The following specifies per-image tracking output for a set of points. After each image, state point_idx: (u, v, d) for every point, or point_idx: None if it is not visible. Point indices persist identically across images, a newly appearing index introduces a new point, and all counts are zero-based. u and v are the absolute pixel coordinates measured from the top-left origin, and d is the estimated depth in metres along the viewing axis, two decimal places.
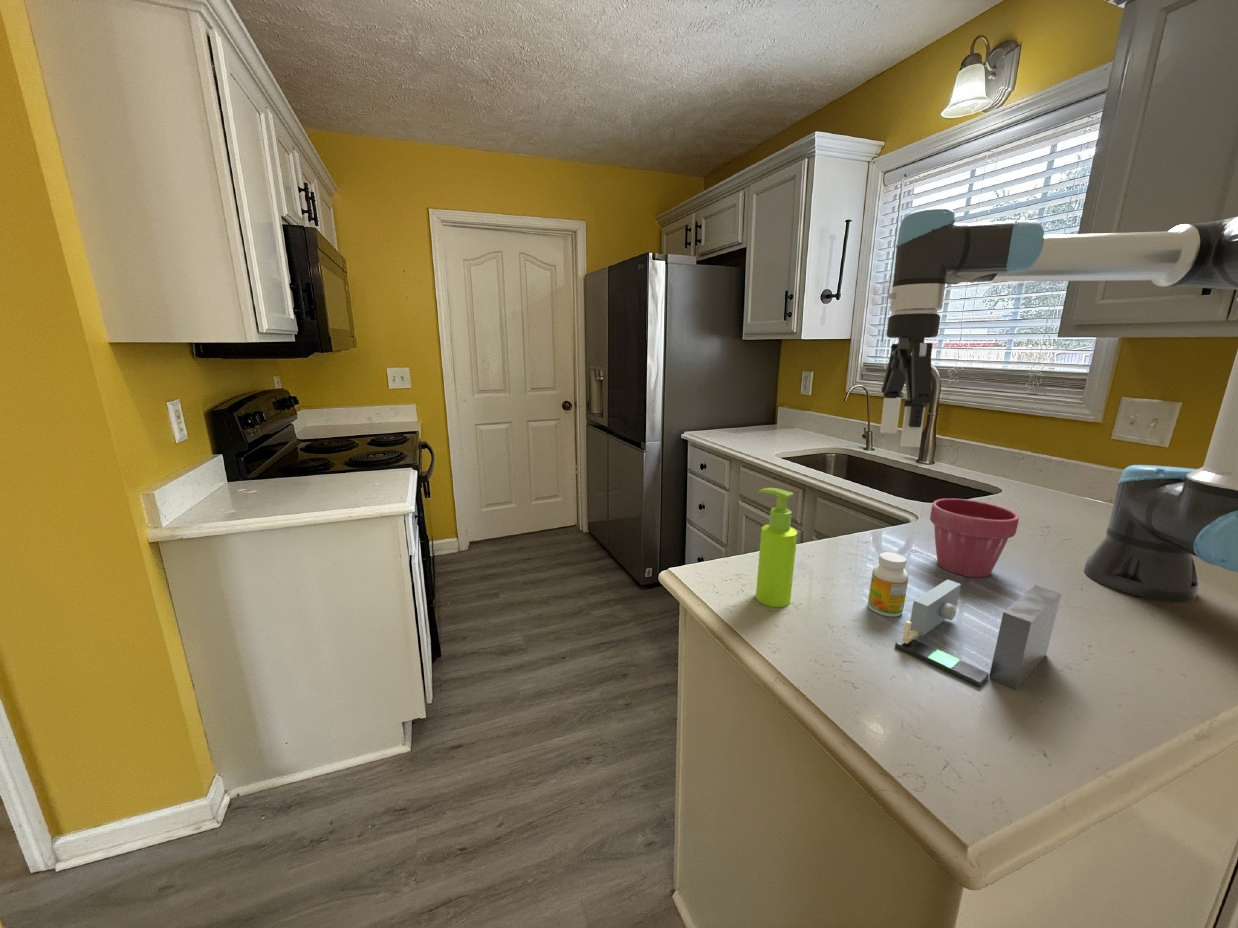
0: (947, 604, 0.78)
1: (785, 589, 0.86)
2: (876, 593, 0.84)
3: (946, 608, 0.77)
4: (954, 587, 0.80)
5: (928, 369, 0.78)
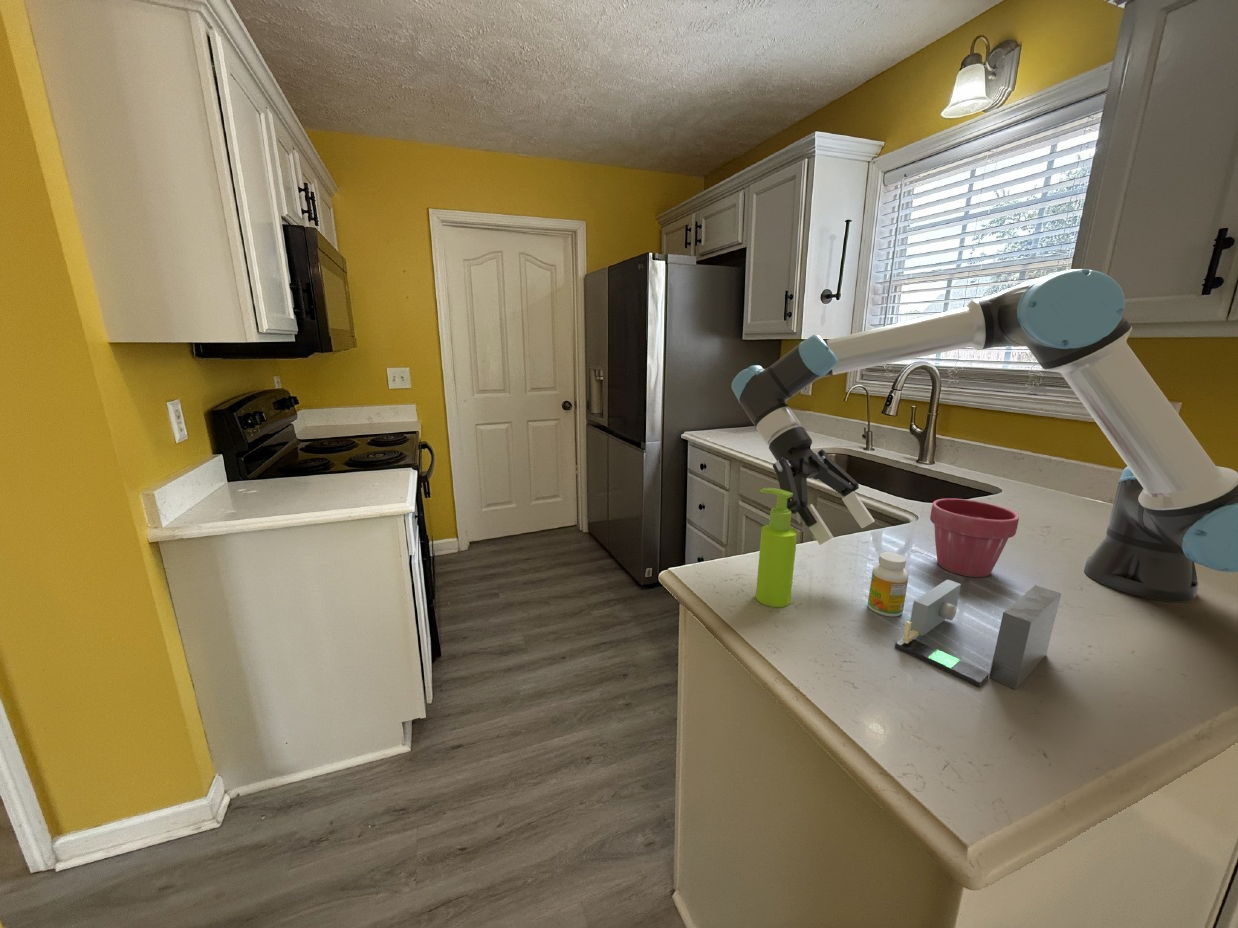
0: (947, 604, 0.78)
1: (785, 589, 0.86)
2: (876, 593, 0.84)
3: (946, 608, 0.77)
4: (954, 587, 0.80)
5: (786, 478, 0.89)
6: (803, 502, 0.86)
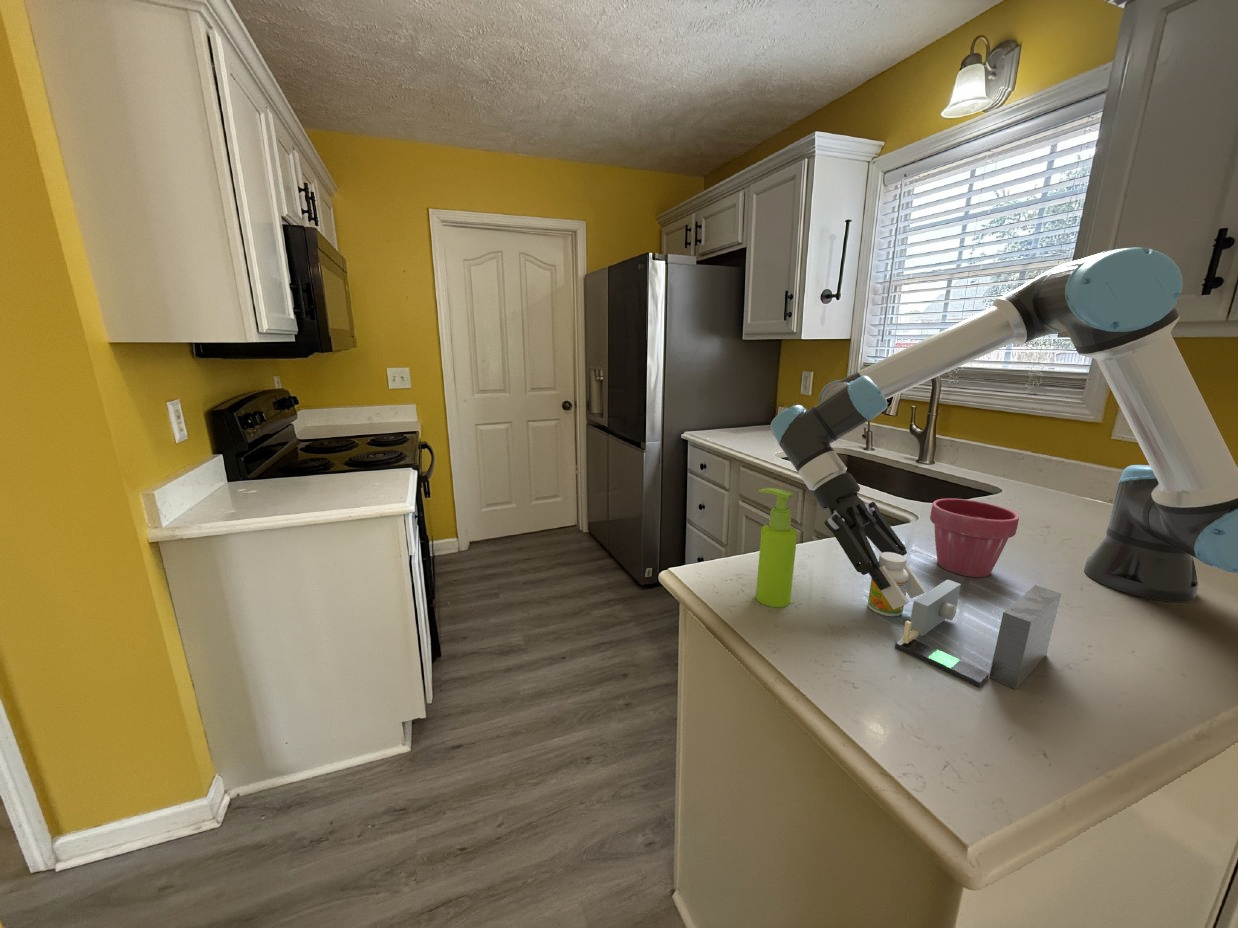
0: (947, 604, 0.78)
1: (785, 589, 0.86)
2: (876, 593, 0.84)
3: (946, 608, 0.77)
4: (954, 587, 0.80)
5: (848, 538, 0.83)
6: (876, 565, 0.82)
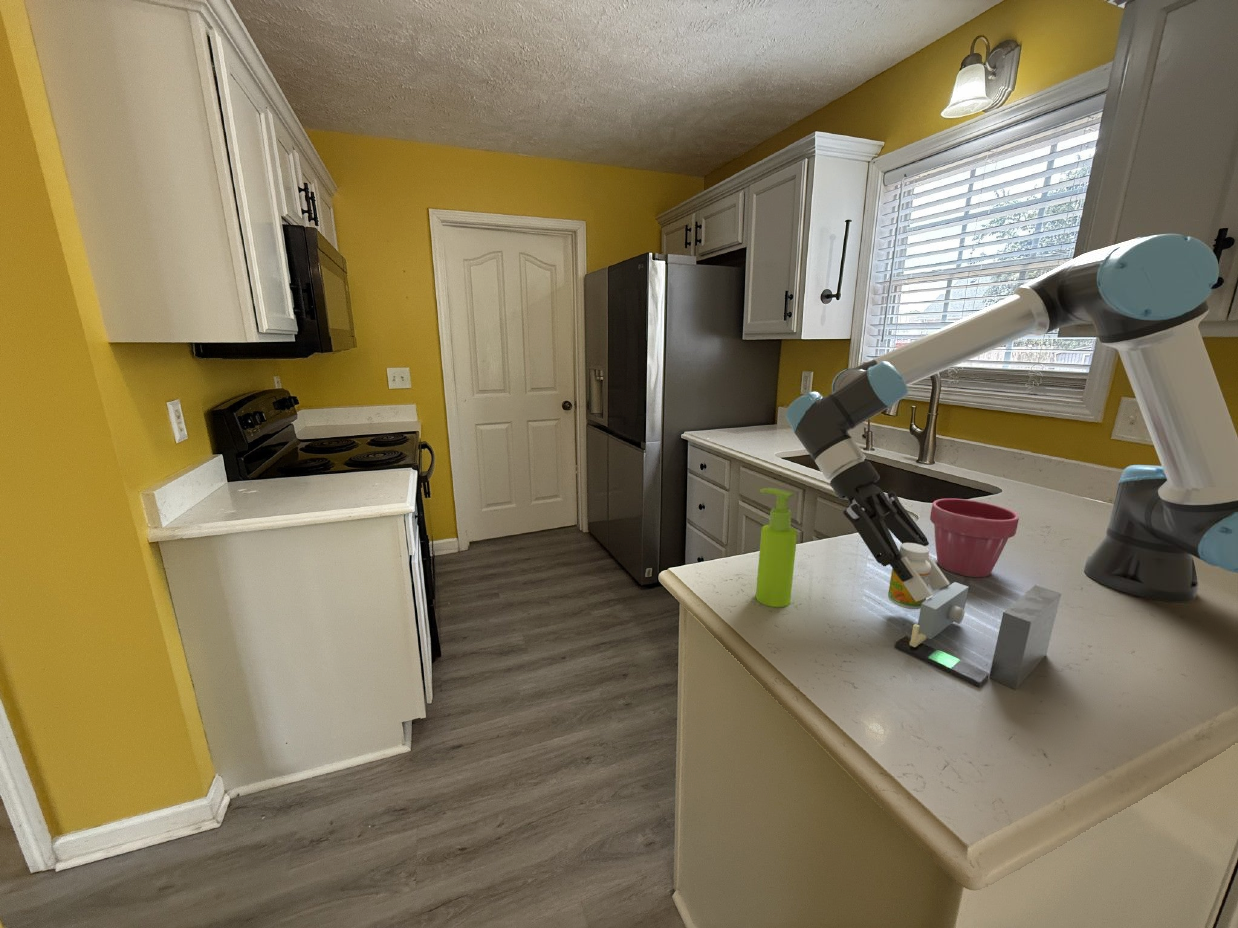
0: (955, 607, 0.77)
1: (785, 589, 0.86)
2: (897, 585, 0.81)
3: (954, 611, 0.76)
4: (962, 590, 0.79)
5: (868, 528, 0.80)
6: (898, 556, 0.79)
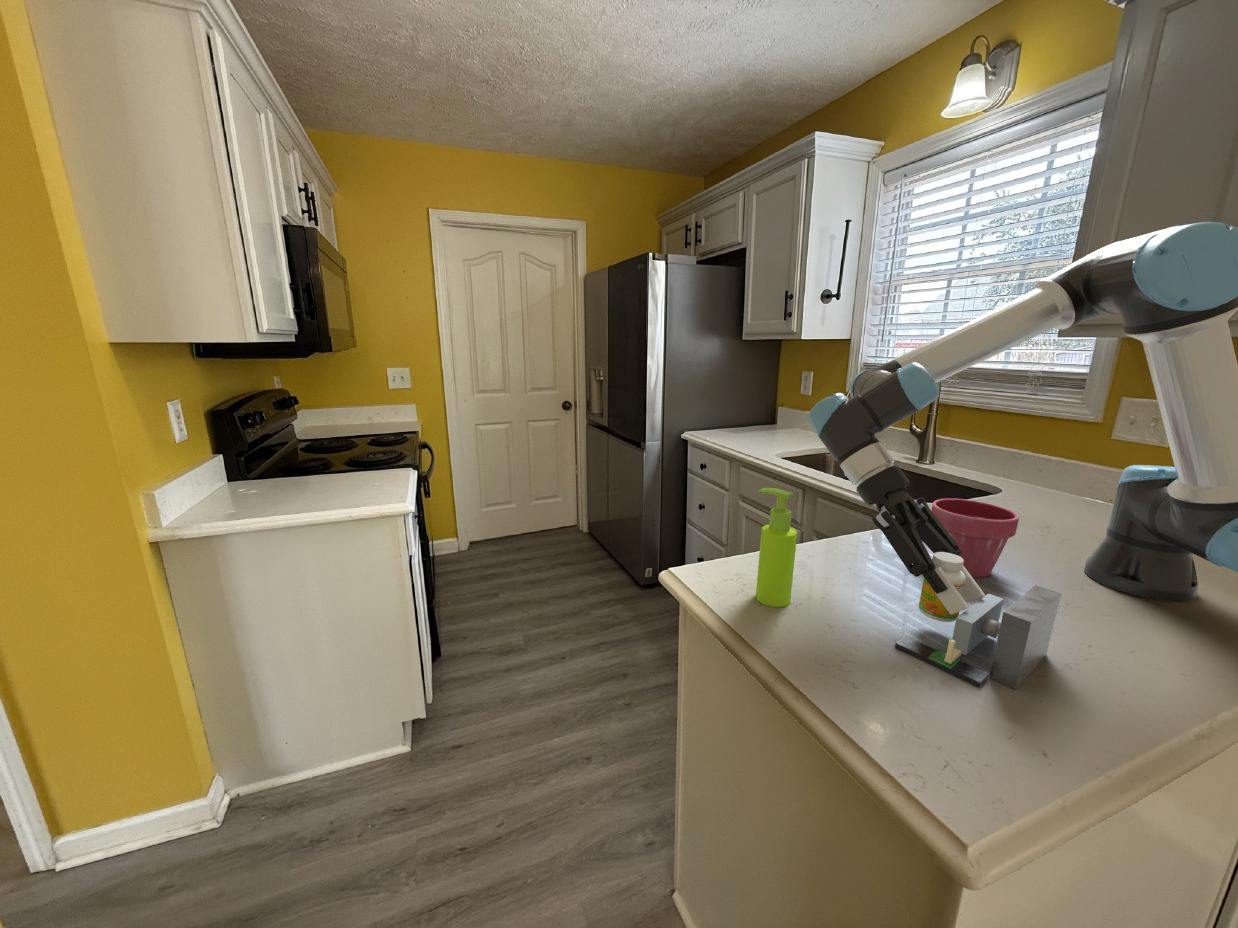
0: (991, 621, 0.73)
1: (785, 589, 0.86)
2: (930, 597, 0.77)
3: (990, 625, 0.73)
4: (997, 602, 0.76)
5: (900, 537, 0.76)
6: (931, 566, 0.75)
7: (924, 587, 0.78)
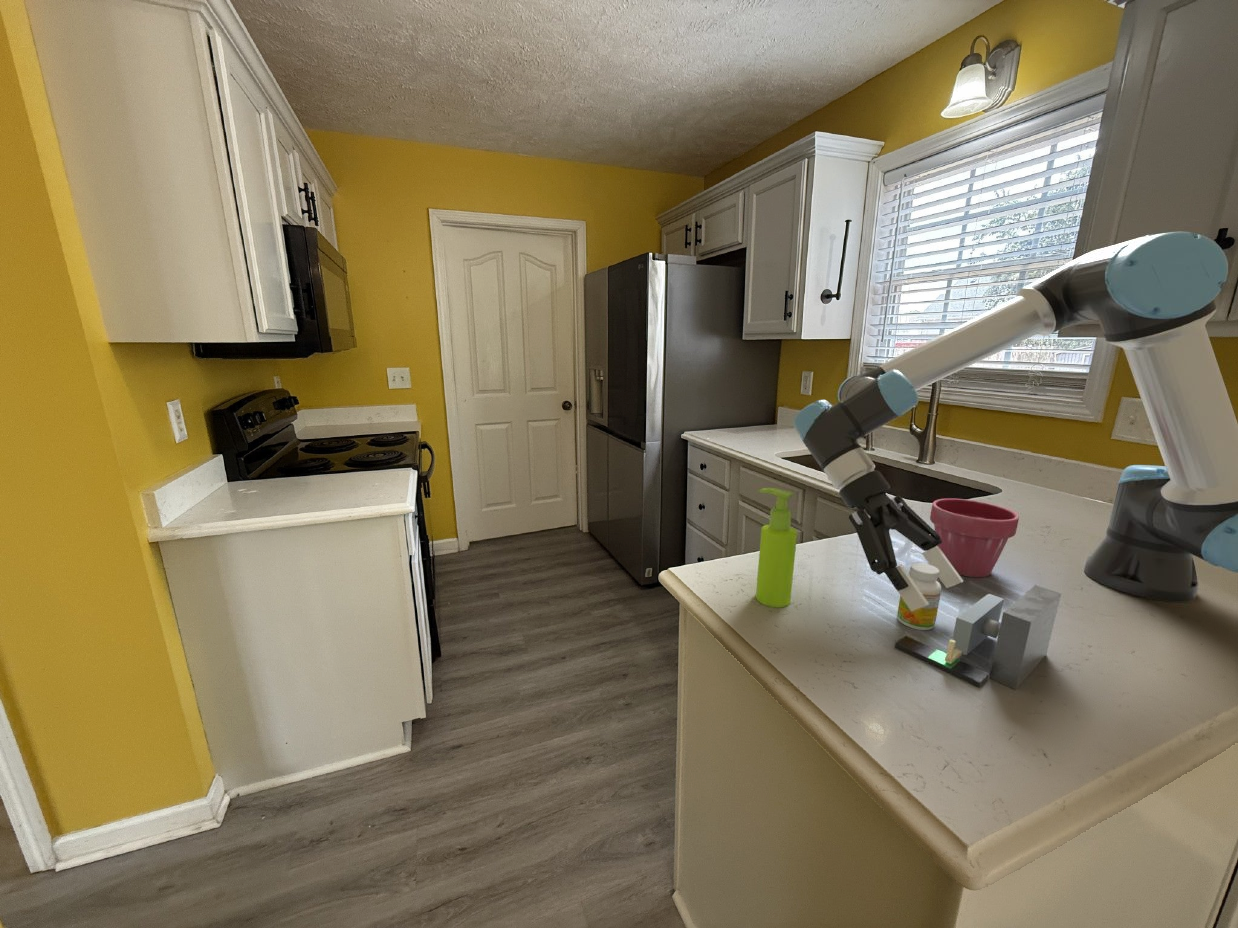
0: (991, 621, 0.73)
1: (785, 589, 0.86)
2: (907, 606, 0.80)
3: (990, 625, 0.73)
4: (997, 602, 0.76)
5: (869, 533, 0.78)
6: (892, 563, 0.76)
7: None
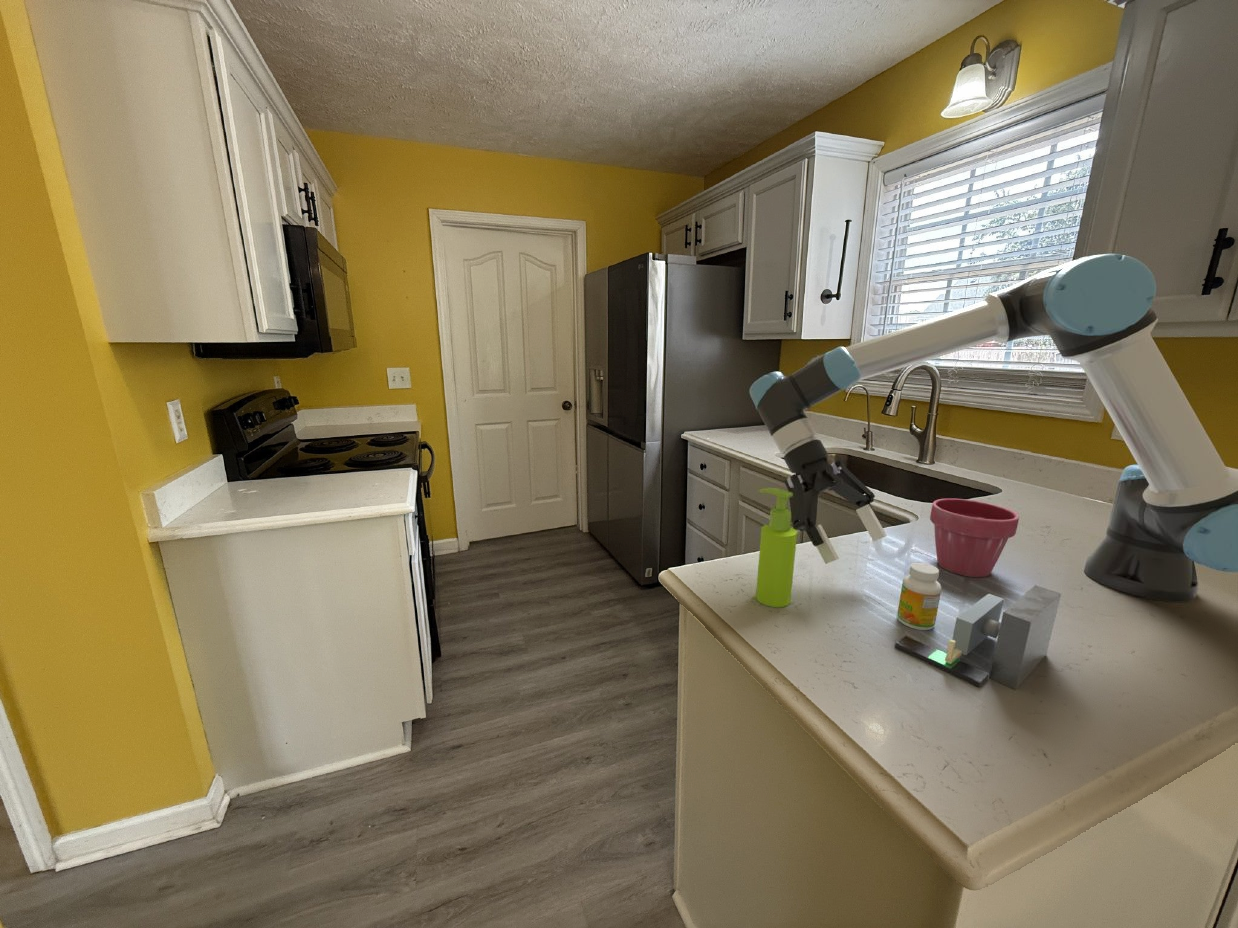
0: (991, 621, 0.73)
1: (785, 589, 0.86)
2: (907, 606, 0.80)
3: (990, 625, 0.73)
4: (997, 602, 0.76)
5: (796, 497, 0.89)
6: (811, 523, 0.88)
7: (902, 596, 0.81)
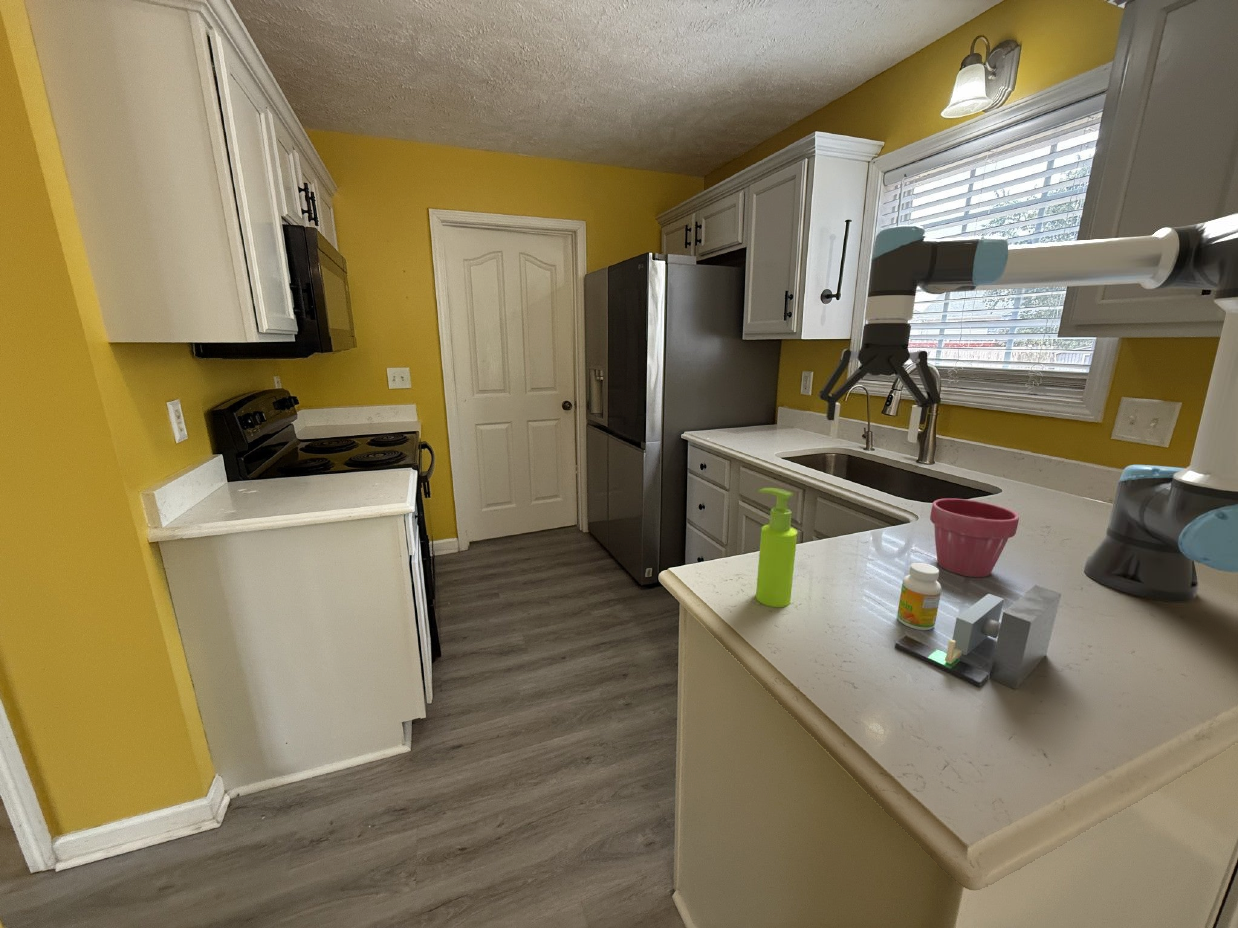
0: (991, 621, 0.73)
1: (785, 589, 0.86)
2: (907, 606, 0.80)
3: (990, 625, 0.73)
4: (997, 602, 0.76)
5: (835, 371, 0.92)
6: (830, 400, 0.93)
7: (902, 596, 0.81)
